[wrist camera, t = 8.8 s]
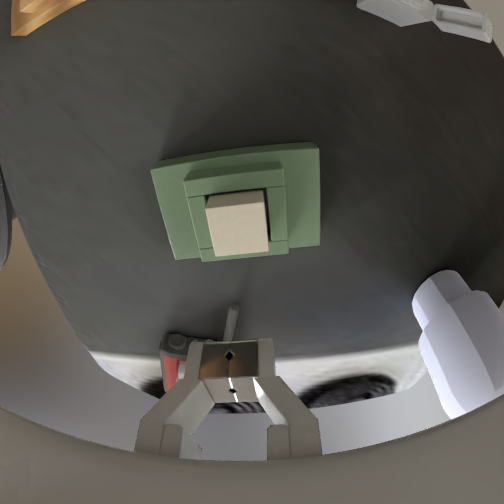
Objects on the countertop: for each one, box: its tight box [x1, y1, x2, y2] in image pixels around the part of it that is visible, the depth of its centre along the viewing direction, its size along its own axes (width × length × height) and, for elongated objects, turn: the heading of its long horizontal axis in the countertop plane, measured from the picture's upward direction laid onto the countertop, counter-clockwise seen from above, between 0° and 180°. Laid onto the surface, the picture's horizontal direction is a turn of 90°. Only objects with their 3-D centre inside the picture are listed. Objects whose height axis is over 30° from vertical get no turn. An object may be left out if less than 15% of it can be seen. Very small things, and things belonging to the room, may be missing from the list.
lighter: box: [356, 0, 493, 43], centre depth 10 cm, size 7×2×8 cm, turn 79°
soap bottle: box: [412, 270, 504, 419], centre depth 19 cm, size 10×10×24 cm
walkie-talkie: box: [159, 303, 239, 392], centre depth 32 cm, size 9×4×20 cm
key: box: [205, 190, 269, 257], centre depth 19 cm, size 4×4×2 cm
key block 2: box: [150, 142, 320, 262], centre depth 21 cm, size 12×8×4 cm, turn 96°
